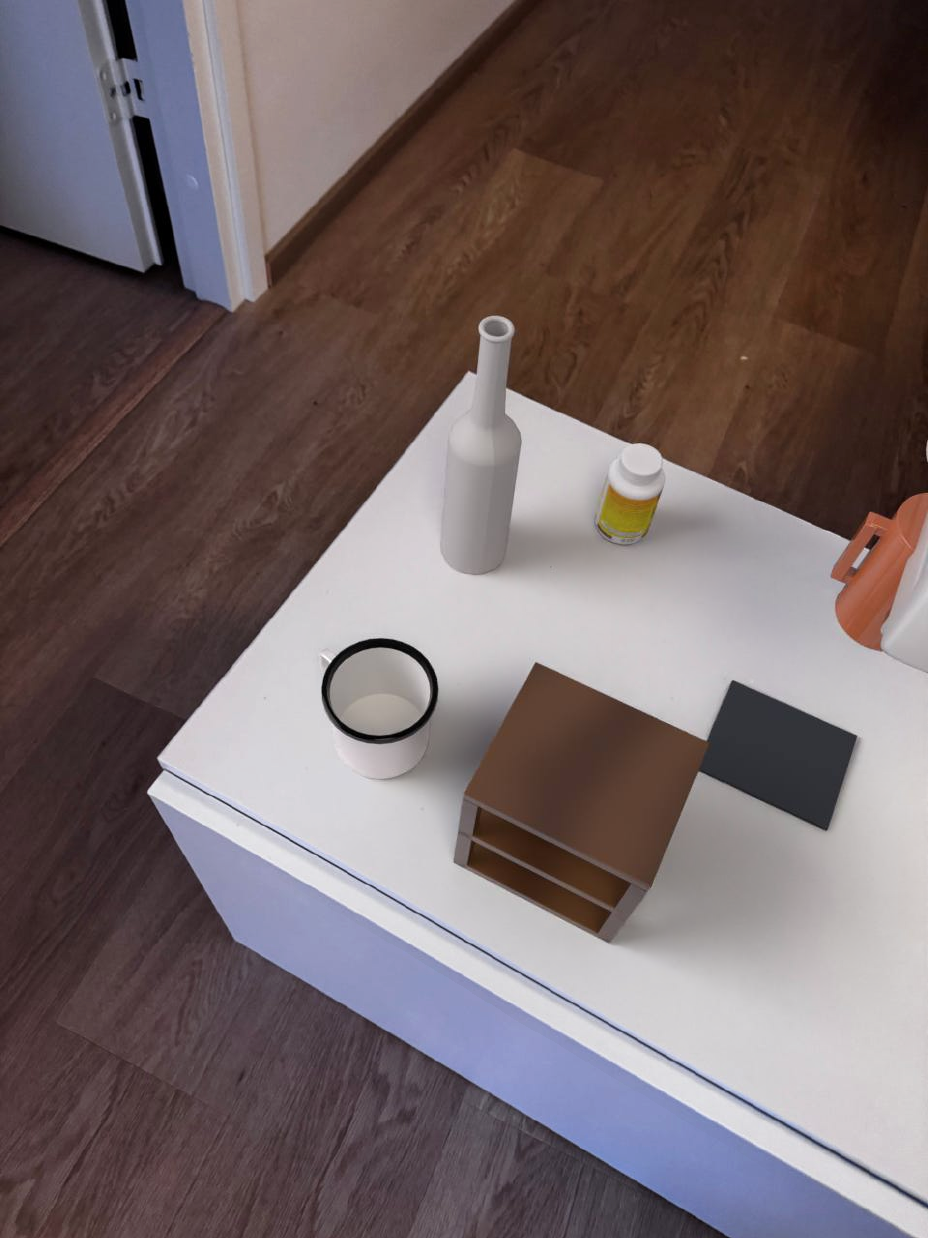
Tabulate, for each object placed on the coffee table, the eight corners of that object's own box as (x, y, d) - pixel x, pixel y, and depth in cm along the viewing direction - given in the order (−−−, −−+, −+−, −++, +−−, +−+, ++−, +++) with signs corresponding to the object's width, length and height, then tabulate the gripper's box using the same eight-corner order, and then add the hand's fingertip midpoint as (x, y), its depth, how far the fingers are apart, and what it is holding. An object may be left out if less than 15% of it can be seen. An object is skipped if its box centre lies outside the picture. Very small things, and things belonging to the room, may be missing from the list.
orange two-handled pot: (936, 607, 68) (1013, 520, 60) (918, 670, 66) (996, 588, 57) (829, 562, 70) (889, 471, 62) (806, 621, 67) (866, 534, 59)
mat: (855, 738, 88) (857, 735, 88) (826, 831, 83) (828, 829, 83) (730, 682, 90) (732, 679, 90) (695, 769, 86) (696, 767, 85)
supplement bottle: (651, 547, 98) (675, 481, 90) (597, 547, 98) (616, 481, 89) (644, 504, 101) (667, 436, 93) (591, 503, 101) (609, 435, 92)
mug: (457, 735, 86) (463, 687, 78) (380, 808, 82) (378, 764, 74) (363, 652, 90) (360, 598, 82) (285, 717, 86) (274, 667, 78)
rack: (662, 816, 83) (710, 742, 70) (609, 944, 77) (651, 887, 64) (515, 745, 86) (535, 661, 73) (452, 862, 80) (463, 793, 67)
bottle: (433, 526, 98) (444, 302, 74) (496, 516, 99) (527, 293, 76) (448, 579, 95) (465, 362, 71) (513, 568, 96) (551, 351, 72)
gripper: (1049, 614, 47) (918, 735, 59) (1102, 358, 57) (982, 505, 69) (921, 561, 48) (818, 691, 60) (996, 320, 59) (895, 471, 70)
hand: (906, 590), depth 65 cm, fingers closed on orange two-handled pot, 6 cm apart
